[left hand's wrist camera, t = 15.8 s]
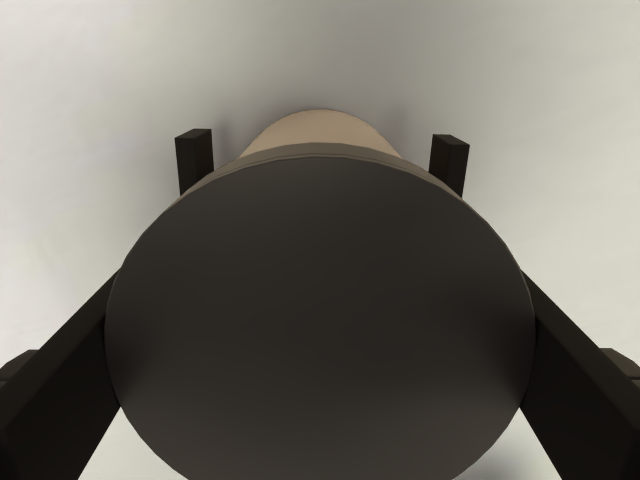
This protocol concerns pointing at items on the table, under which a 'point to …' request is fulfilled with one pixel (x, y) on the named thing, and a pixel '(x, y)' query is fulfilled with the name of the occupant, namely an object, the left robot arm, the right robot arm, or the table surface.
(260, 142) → the jar
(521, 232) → the table surface
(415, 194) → the lid
